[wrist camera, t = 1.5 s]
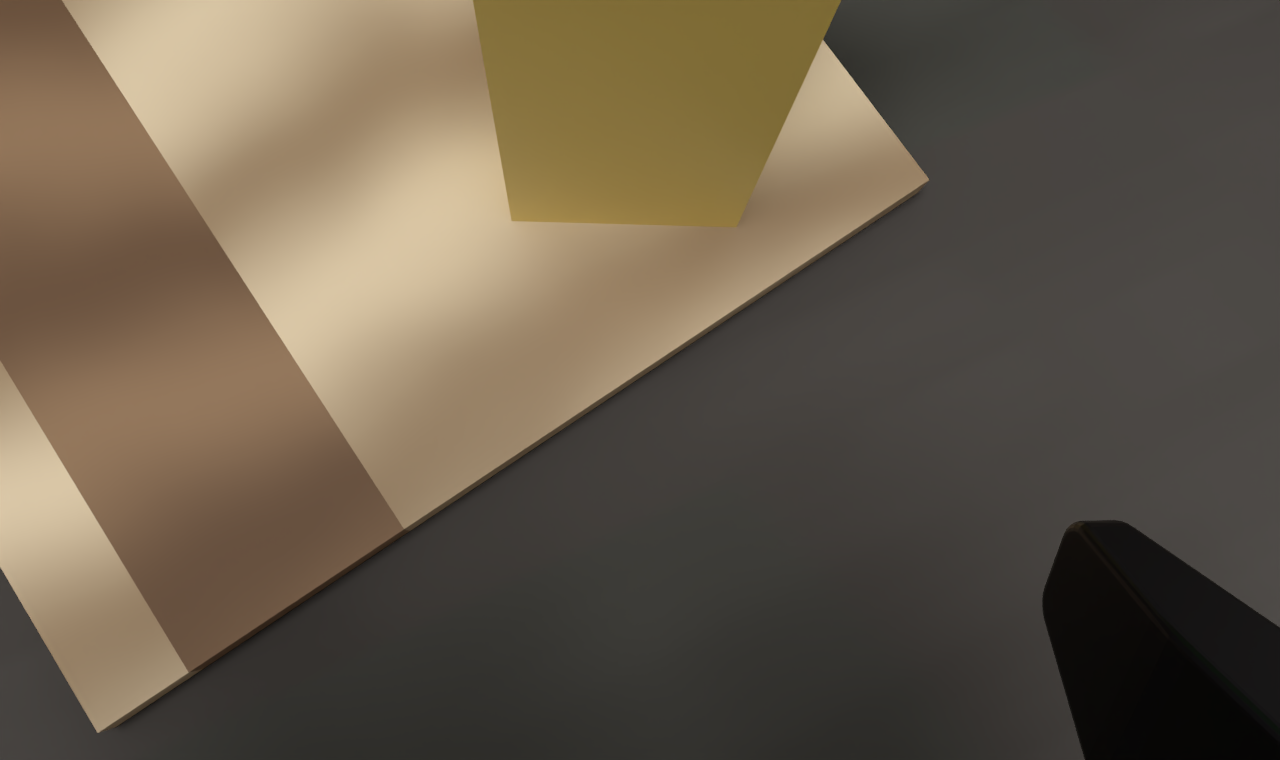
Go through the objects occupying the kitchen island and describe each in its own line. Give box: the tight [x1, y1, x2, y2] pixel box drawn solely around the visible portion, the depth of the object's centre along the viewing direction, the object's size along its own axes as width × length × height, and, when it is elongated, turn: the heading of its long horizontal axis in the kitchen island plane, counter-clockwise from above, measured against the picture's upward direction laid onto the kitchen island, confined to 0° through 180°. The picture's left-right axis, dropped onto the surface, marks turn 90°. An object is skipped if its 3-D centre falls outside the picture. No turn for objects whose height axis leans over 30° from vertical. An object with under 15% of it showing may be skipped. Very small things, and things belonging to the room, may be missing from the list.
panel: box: [0, 0, 929, 733], centre depth 23 cm, size 15×21×1 cm
